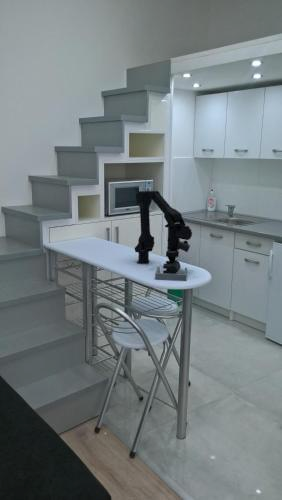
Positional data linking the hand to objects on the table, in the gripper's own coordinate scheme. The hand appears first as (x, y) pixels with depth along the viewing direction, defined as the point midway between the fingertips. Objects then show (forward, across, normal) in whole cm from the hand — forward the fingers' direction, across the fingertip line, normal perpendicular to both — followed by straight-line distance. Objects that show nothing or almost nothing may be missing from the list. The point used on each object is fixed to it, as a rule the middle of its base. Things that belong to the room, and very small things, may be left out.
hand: (172, 266), depth 222 cm
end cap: (+3, -7, 0) cm, 8 cm away
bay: (+2, -9, 0) cm, 10 cm away
